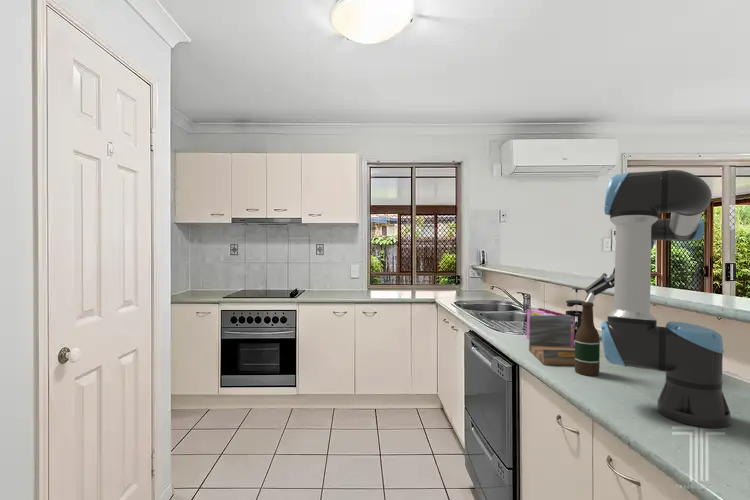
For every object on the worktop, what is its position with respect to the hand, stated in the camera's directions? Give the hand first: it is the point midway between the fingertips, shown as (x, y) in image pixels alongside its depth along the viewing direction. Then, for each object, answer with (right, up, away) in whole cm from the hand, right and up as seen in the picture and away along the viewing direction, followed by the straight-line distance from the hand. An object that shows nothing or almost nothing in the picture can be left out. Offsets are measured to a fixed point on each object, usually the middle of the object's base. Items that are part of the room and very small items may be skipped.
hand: (602, 311), depth 149 cm
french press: (+12, -19, +46) cm, 51 cm away
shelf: (-10, -20, +14) cm, 26 cm away
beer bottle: (-8, -21, -4) cm, 22 cm away
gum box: (-4, -20, +36) cm, 41 cm away
